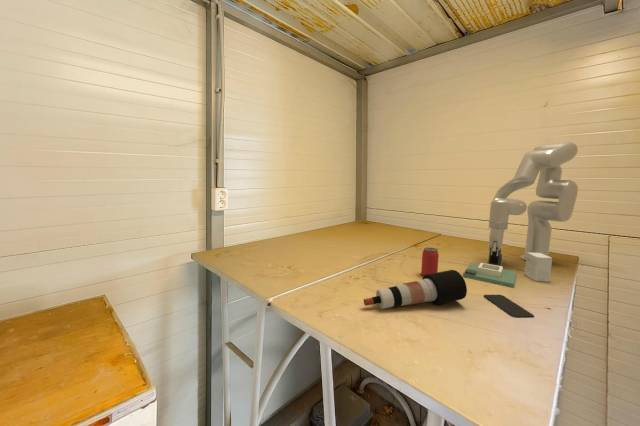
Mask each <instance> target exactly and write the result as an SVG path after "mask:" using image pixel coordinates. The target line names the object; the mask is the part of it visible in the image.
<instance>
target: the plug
mask: <svg viewBox="0 0 640 426" xmlns="http://www.w3.org/2000/svg"><path fill="white" fill-rule="evenodd" d="M496 249H497V250H498V248H496ZM491 250H492V247H491V248H490V249H489V253H488V263H487V264H491V265H496V266H502V263H503V262H502V261H503V254H502V248H501V249H500V250H499V251H498V256H499V257H498V264H493V263H490V255H491Z"/></svg>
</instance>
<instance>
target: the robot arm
mask: <svg viewBox="0 0 640 426" xmlns="http://www.w3.org/2000/svg"><path fill="white" fill-rule="evenodd" d="M578 150H579V149H578V145H577V144H576V143H574V142H570V141H566V142H556V143H555V142H554V143H546V144H540V145H537V146H535V147H534V149H533V150H531V151H528V152H527V153H525V154H524V155H523V157H522V159H521V161H520V164H519V165H518V167H517V170H516V171H515V173H514V176H513V178H512V179H510V180H508V181H507V182H506V183H504V184H503V185H502V186H500V188H498V189H497V191H496V193H495V195H494V197H493V199H492V200H491V202H490V208H489V209H490V210H489V220H488V229H490V232H489V239H488V245H487V246H488V247H487V248H488V249H489V250H490V248H491V247H492V250H491V255H490V263H493V264H498V257H499V256H498V251H499V250H500V249H501V250H502V247H503V241H504V234H505V231H507V230H508V225H509V215H511V216H521V215H523V214H524V213H525V212H526V211H527V218H528V219H527V221H528V222H527V223H528V224H527V231H526V232H527V233H526V240H525V249H524V254H521V255H520V259H522V260H524V261H526V256H527V252H531V253H542V254H544V255H546V256H549V252H550V244H551V236H552V225H551V223H550V221H553V222H561V223H566V222H568V221H569V220H570V219H571V217H572V215H573V213H574V212H573V211H574V209H575V205H576V201H577V197H578V191H579V188H578V185H577V183H576V182H575V181H573V180H570V179H568V180H567V179H561V178H562V174H563V170H562V167H561V166H562V165H563V164H565V163H568V162H570V161H572V160H573V159H574V158H575V157H576V156H577V154H578V152H579V151H578ZM537 177H538V180H537V184H536V186H535V187H536V188H535V195H536V196H537V197H538V198H542V199H551V201H550V200H534V201H531V202H530V203H529V204H528V205H527V203H526V202H525V201H524V200H520V199H514V198H508V197H509V196H510V195H511V194H512V193H514V192H516V191H519V190H522V189H525V188H527V187H531V186H532V185H534V184H535V182H536V179H537ZM552 200H558V201H552ZM496 248H498V250H497V249H496Z"/></svg>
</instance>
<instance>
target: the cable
mask: <svg viewBox="0 0 640 426" xmlns="http://www.w3.org/2000/svg"><path fill="white" fill-rule="evenodd" d="M467 292H468V288H467V283H466V281H465V279H464V277H463V274H461V273H460V272H459V271H457V270H454V269H450V270H449V269H447V270H443V271H438V272H437V273H432V274H426V275H424V276H423V275H422V279H420V280H414V281H409V282H403V283H402V284H398V285H394V286H391V287H390V286H389V287H386V288H382V289H377V290H376V292H375V294H376V295H375V296H372V297H369V298H368V297H367V298H363V304H364V306H367V307H368V306H371V305H378V306H379V308H380V309H381V310H384V309H389V308H390V309H391V308H395V307H402V306H413V305H417V304H421V303H425V302H427V303H430V304H432V305H436V306H437V305H441V304H446V303H447V304H448V303H452V302H455V301H456V302H457V301H460V300H463V299H465V298H466V296H467Z"/></svg>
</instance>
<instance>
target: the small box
mask: <svg viewBox="0 0 640 426" xmlns="http://www.w3.org/2000/svg"><path fill="white" fill-rule="evenodd" d="M552 266H553V257H551V256H549V255H548V256H546V255H544V254H542V253H531V252H527V256H526V260H525V267H524V275H525V276H527V277H528V278H529V279H531V280H532V281H534V282H546V283H550V281H551V276H552V275H551V272H552Z"/></svg>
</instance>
